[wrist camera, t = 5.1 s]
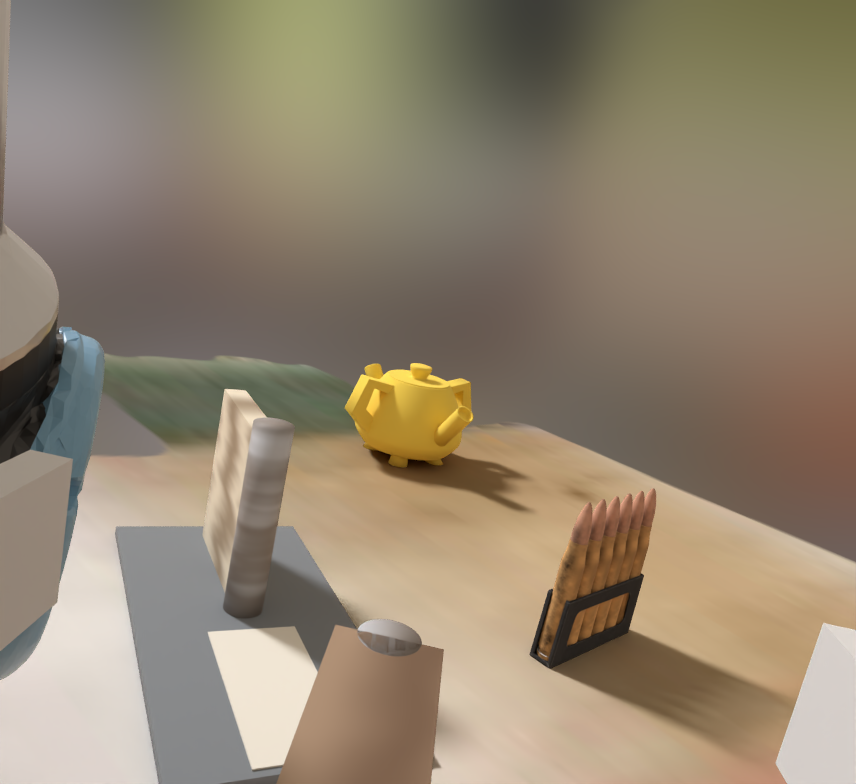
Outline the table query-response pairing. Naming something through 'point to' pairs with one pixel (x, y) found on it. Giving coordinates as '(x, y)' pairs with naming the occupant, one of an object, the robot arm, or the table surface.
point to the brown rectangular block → (369, 710)
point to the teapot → (410, 413)
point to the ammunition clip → (596, 580)
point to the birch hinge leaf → (245, 500)
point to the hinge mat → (223, 654)
